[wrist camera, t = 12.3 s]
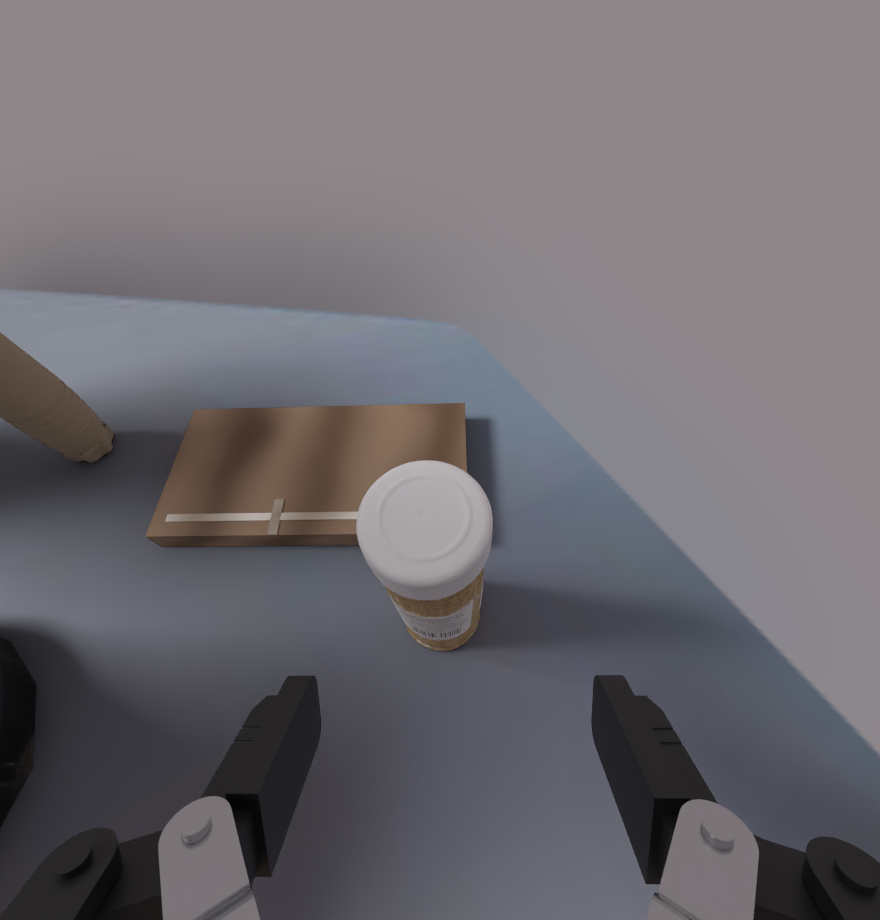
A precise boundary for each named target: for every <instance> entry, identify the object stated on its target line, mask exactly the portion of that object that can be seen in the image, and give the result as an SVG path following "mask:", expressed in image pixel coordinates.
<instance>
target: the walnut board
mask: <svg viewBox="0 0 880 920" xmlns="http://www.w3.org/2000/svg"><path fill="white" fill-rule="evenodd" d="M423 460H431V461H439V462H445V463H448V464H451V465H454V466H456V467H458V468H460V469H462V470H464V471H465V472H466V473H467V459H466V428H465V403H451V404H408V405H366V406H323V407H281V408H238V409H195V410H194V412H193V414H192V417H191V420H190V422H189V425H188V427H187V430H186V432H185V435H184V437H183V440H182V443H181V445H180V448H179V450H178V453H177V455H176V458H175V461H174V463H173V466H172V468H171V471H170V473H169V476H168V479H167V481H166V484H165V486H164V489H163V491H162V494H161V496H160V499H159V502H158V504H157V507H156V509H155V512H154V514H153V517H152V520H151V522H150V525H149V527H148V530H147V532H146V535H145V537H146V538H148V539H150V540H151V541H153V542H155V543H156V544H158V545H159V546H161V547H214V546H307V545H359V542H358V538H357V531H356V522H357V515H358V510H359V507H360V504H361V502H362V500H363V497H364V496H365V494H366V493H367V491H368V490H369V488H370V487H371V486H372V485H373V483H374V482H375V481H376V480H377V479H379V478H380V477H381V476H382V475H384V474H385V473H387V472H388V471H390V470H391V469H393V468H395V467H398V466H400V465H403V464H406V463H409V462H414V461H423Z"/></svg>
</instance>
